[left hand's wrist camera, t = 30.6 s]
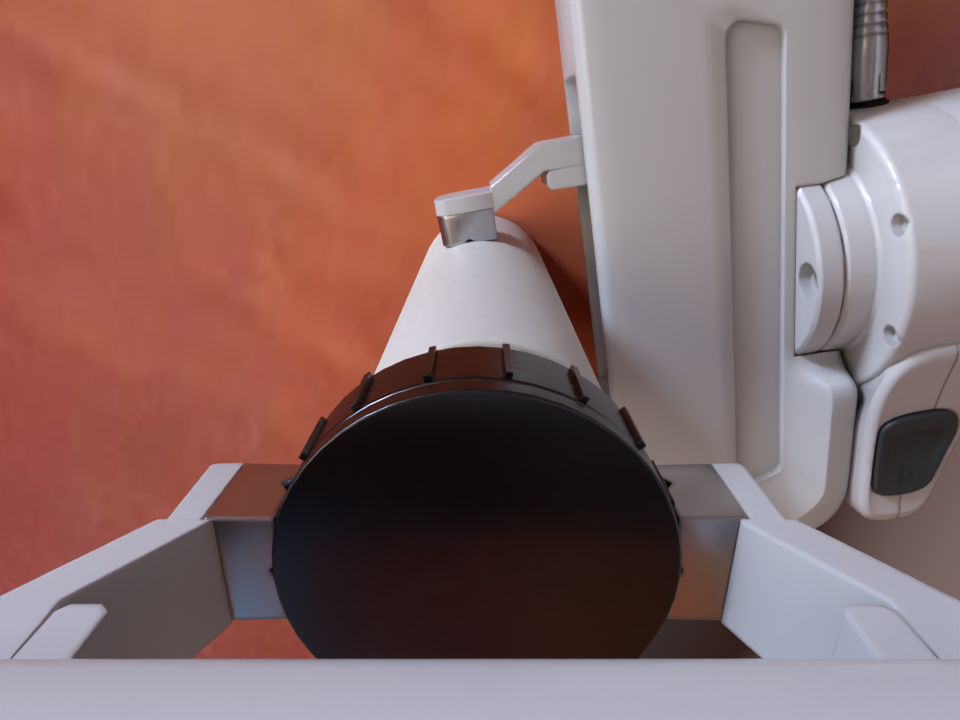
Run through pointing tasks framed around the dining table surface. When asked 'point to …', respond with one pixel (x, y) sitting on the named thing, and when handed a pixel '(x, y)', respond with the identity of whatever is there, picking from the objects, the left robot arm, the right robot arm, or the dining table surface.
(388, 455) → the lid
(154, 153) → the dining table surface
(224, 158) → the dining table surface
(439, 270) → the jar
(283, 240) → the dining table surface
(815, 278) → the right robot arm
